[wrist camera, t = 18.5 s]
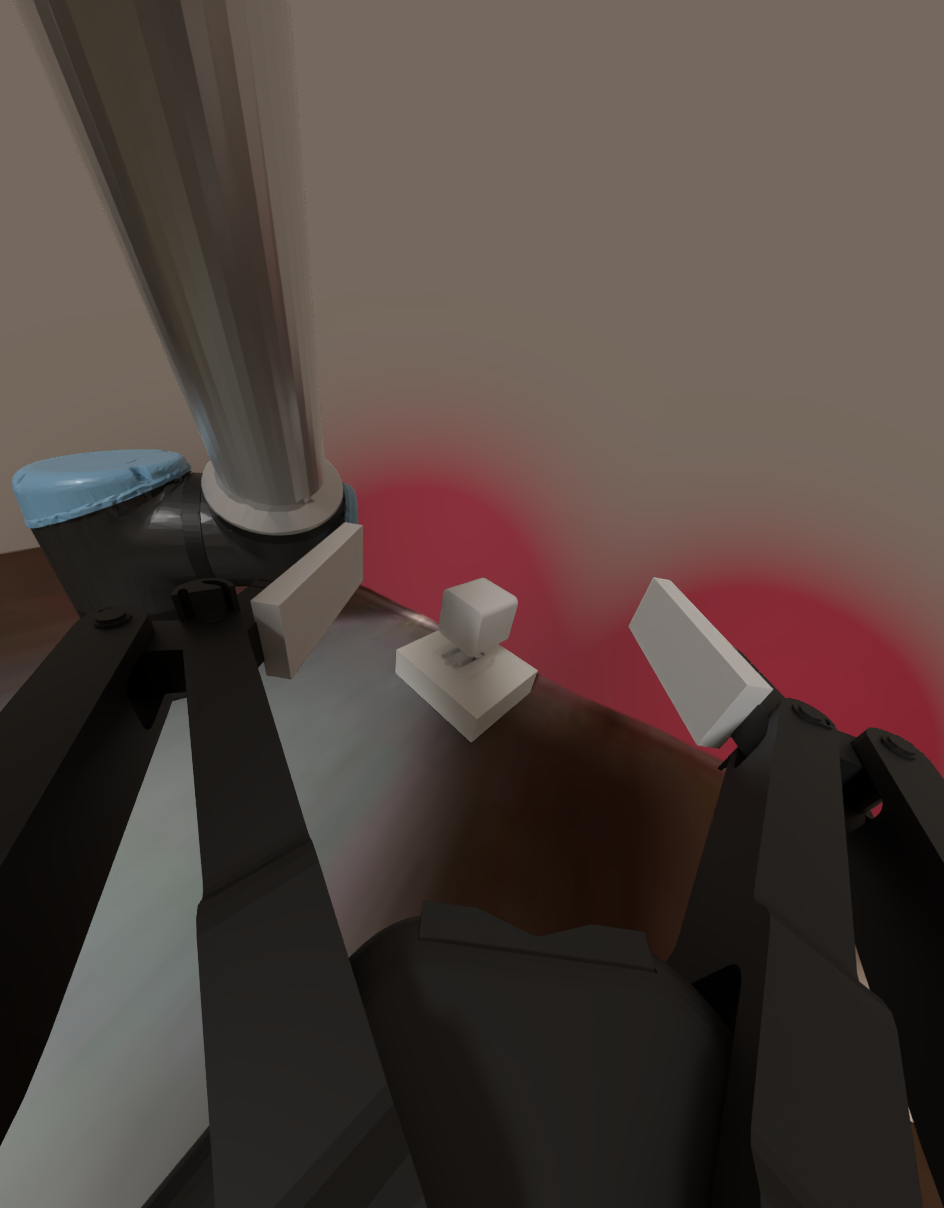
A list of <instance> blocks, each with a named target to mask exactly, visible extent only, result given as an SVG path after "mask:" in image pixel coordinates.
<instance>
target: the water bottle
mask: <svg viewBox="0 0 944 1208" xmlns="http://www.w3.org/2000/svg"><path fill="white" fill-rule="evenodd" d="M855 952H856V964H857V974H858V978H859V982H861V983H862V984H863V985H864V986H866V987H867V988H868V989H869V986H868V983H867V980H866V977H865V974H864V971H863V968H862V965H861V962H860V959H859V955H858V952H857V949H856V946H855ZM869 990H870V989H869ZM908 1108H909V1107H908ZM909 1115H910V1121H912V1122H913V1119H912V1116H911V1113H910V1110H909Z"/></svg>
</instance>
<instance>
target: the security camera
mask: <svg viewBox="0 0 944 1208" xmlns="http://www.w3.org/2000/svg"><path fill="white" fill-rule="evenodd" d="M517 605H518V601H517V599H516V597H515V596H513V595H512V594H510V593H509V592H507V591H505V590H504V589H502V588H500V587H499V586H497V585H495V584H494V583H492V582H490V581H489V580H487V579H486V578H480V579H477V580H473V581H470V582H467V583H464V584H461V585H457V586H454V587H451V588H448V589H445V590H444V592H443V598H442V605H441V613H440V620H439V631H440V633H441V634H442V635H443V636H445V637H446V638H447V639H448V640H449V641H451V643H449V644H446V645H444V646H442V647H440V648H438V649H435V650H434V652H433V660H434V661H435V662H436V663H438V664H439V665H440V666H441V667H442V668H443V669H444V670H445V671H446V672H447V673H449V674H450V675H451V676H452V677H453V678H454V679H455V680H456V681H457V682H458V683H463V682H465V681H467V680H469V679H470V678H472V677H474V676H476V675H477V674H479V673H481V672H483V671H484V670H486V669H488V668H490V667H491V664H492V660H493V659H492V657H490V656H489V655H488V654H486V653H485V652H484V651H485V650H487V649H489V648H491V647H493V646H495V645H497V644H499V643H501V642H502V641H505V640H506V639H508V637H509V634H510V630H511V627H512V623H513V619H514V616H515V612H516V609H517ZM452 664H456V665H457V666H456V667H454V666H453V665H452Z"/></svg>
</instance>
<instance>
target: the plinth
mask: <svg viewBox="0 0 944 1208" xmlns="http://www.w3.org/2000/svg"><path fill="white" fill-rule="evenodd" d="M449 643H451V641H449V640H448V639H447V638H446V637H445V636H443V635H442V634H441V633H440V631H439V630H438V631H436V632H433V633H431V634H429V635H427V636H425V637H423V638H421V639H419V640H416V641H414V642H412V643H410V644H408V645H406V646H404V647H401V648H399V649H397V654H396V672H395V673H396V674H397V675H398V676H399V677H401V678H402V679H403V680H404V681H405V682H406V683H407V684H408V685H409V686H410V687H411V688H412V689H414V690H415V691H416V692H417V693H418V694H419V695H420V696H421V697H422V698H423V699H424V700H425V701H427V702H428V703H429V704H430V705H431V706H432V707H433V708H434V709H435V710H436V711H437V712H438V713H440V714H441V715H442V716H443V717H444V718H445V719H446V720H447V721H448V722H449V723H450V724H451V725H452V726H454V727H455V728H456V729H457V730H458V731H459V732H460V733H461V734H462V735H463V736H464V737H465V738H467V739H468V740H469V741H470V742H473V741H474V740H475V739H476V738H477V737H478V736H480V735H481V734H482V733H483V732H484V731H485V730H487V729H488V728H489V727H490V726H491V725H492V724H494V723H495V722H496V721H497V720H498V719H500V718H501V717H502V716H503V715H504V714H505V713H507V712H508V711H509V710H510V709H511V708H512V707H514V706H515V705H516V704H517V703H518V702H519V701H521V700H522V699H523V698H524V697H525V696H526V695H528V694H529V693H530V691H531V689H532V686H533V683H534V680H535V677H536V674H537V672H538V670H536V669H535V668H533V667H532V666H530V665H528V664H527V663H526V662H524V661H523V660H521V659H520V658H518V657H517V656H515V655H514V654H512V653H511V652H509V651H508V650H507V649H505V648H504V647H502V646H500V645H499V644H497V645H495V646H493V647H491V648H489V649H487V650H485V651H484V652H485V653H486V654H488V655H489V656H490V657H492V659H493V660H492V664H491V667H490V668H488V669H486V670H484V671H483V672H481V673H479V674H477V675H476V676H474V677H472V678H470V679H469V680H467V681H465V682H463V683H458V682H457V681H456V680H455V679H454V678H453V677H452V676H451V675H450V674H449V673H447V672H446V671H445V670H444V669H443V668H442V667H441V666H440V665H439V664H438V663H436V662H435V661H434V660H433V652H434V650H435V649H438V648H440V647H442V646H444V645H446V644H449ZM452 665H453V666H454V667H456V666H457V665H456V664H452Z"/></svg>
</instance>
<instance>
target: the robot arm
mask: <svg viewBox="0 0 944 1208" xmlns="http://www.w3.org/2000/svg"><path fill="white" fill-rule="evenodd" d="M13 1H14V3H15V5H16V8H17V10H18V12H19V15H20V17H21V19H22V22H23V24H24V26H25V28H26V31H27V33H28V36H29V38H30V40H31V42H32V45H33V47H34V50H35V52H36V54H37V57H38V59H39V61H40V63H41V66H42V68H43V70H44V73H45V75H46V77H47V80H48V82H49V85H50V87H51V89H52V92H53V94H54V96H55V99H56V101H57V103H58V105H59V108H60V110H61V113H62V115H63V117H64V120H65V122H66V124H67V127H68V129H69V131H70V134H71V136H72V138H73V140H74V143H75V145H76V147H77V150H78V152H79V154H80V157H81V159H82V161H83V164H84V166H85V168H86V171H87V173H88V175H89V178H90V180H91V182H92V185H93V187H94V189H95V192H96V194H97V196H98V199H99V201H100V203H101V206H102V208H103V210H104V213H105V215H106V217H107V220H108V222H109V224H110V227H111V229H112V231H113V234H114V236H115V238H116V241H117V243H118V245H119V248H120V250H121V252H122V255H123V257H124V259H125V262H126V264H127V266H128V269H129V271H130V273H131V276H132V278H133V280H134V283H135V285H136V287H137V290H138V292H139V294H140V297H141V299H142V301H143V303H144V306H145V308H146V311H147V313H148V315H149V318H150V320H151V322H152V325H153V326H154V329H155V331H156V334H157V336H158V339H159V341H160V343H161V346H162V348H163V350H164V353H165V355H166V357H167V360H168V362H169V364H170V366H171V369H172V371H173V374H174V376H175V378H176V380H177V383H178V385H179V387H180V390H181V392H182V394H183V397H184V399H185V401H186V404H187V406H188V409H189V411H190V413H191V415H192V418H193V420H194V422H195V425H196V427H197V429H198V432H199V434H200V436H201V439H202V441H203V443H204V446H205V448H206V450H207V452H208V455H209V457H210V461H209V462H208V464H207V465H206V466H205V469H204V471H203V473H195V472H192V471H190V470H191V465H190V463H188V462H187V460H186V458H185V457H184V456H183V455H181V454H179V453H176V452H168V451H164V450H147V449H145V450H143V449H142V450H114V451H99V452H88V453H81V454H73V455H66V456H59V457H54V458H49V459H45V460H41V461H37V462H34V463H31V464H29V465H26V466H24V467H23V468H21V469H19V470H18V471H17V472H16V473H15V474H14V476H13V478H12V488H13V491H14V494H15V496H16V498H17V501H18V503H19V506H20V508H21V510H22V513H23V516H24V518H25V525H26V527H27V528H30V529H31V531H32V532H33V534H34V536H35V538H36V540H37V541H38V543H39V545H40V547H41V548H42V550H43V552H44V554H45V556H46V557H47V559H48V561H49V563H50V565H51V566H52V568H53V570H54V572H55V574H56V575H57V577H58V579H59V581H60V582H61V584H62V586H63V588H64V590H65V591H66V593H67V595H68V597H69V599H70V600H71V602H72V604H73V606H74V607H75V609H76V611H77V613H78V615H79V617H80V619H79V620H78V621H77V622H76V623H75V624H74V625H73V626H72V628H71V629H70V630H69V631H68V632H67V633H66V635H65V636H64V637H63V638H62V639H61V641H60V642H59V643H58V644H57V645H56V647H55V648H54V649H53V650H52V651H51V652H50V654H49V655H48V656H47V657H46V658H45V660H44V661H43V662H42V663H41V664H40V666H39V667H38V668H37V669H36V670H35V671H34V673H33V674H32V675H31V676H30V677H29V679H28V680H27V681H26V682H25V683H24V685H23V686H22V687H21V688H20V689H19V690H18V692H17V693H16V694H15V695H14V696H13V698H12V699H11V700H10V701H9V702H8V704H7V705H6V706H5V707H4V708H3V709H2V711H1V712H0V1146H1V1144H2V1142H3V1140H4V1138H5V1135H6V1133H7V1131H8V1129H9V1127H10V1125H11V1123H12V1121H13V1119H14V1117H15V1115H16V1113H17V1111H18V1109H19V1107H20V1105H21V1103H22V1101H23V1099H24V1097H25V1094H26V1092H27V1089H28V1087H29V1085H30V1082H31V1080H32V1077H33V1075H34V1072H35V1070H36V1068H37V1065H38V1063H39V1060H40V1058H41V1055H42V1053H43V1051H44V1048H45V1046H46V1043H47V1041H48V1038H49V1036H50V1033H51V1030H52V1028H53V1025H54V1022H55V1019H56V1017H57V1014H58V1011H59V1008H60V1006H61V1003H62V1000H63V998H64V995H65V992H66V989H67V987H68V984H69V981H70V979H71V976H72V973H73V970H74V968H75V965H76V962H77V959H78V957H79V954H80V951H81V949H82V946H83V943H84V940H85V938H86V935H87V932H88V930H89V927H90V924H91V921H92V919H93V916H94V913H95V910H96V908H97V905H98V902H99V900H100V897H101V894H102V891H103V889H104V886H105V883H106V881H107V878H108V875H109V872H110V870H111V867H112V864H113V861H114V859H115V856H116V853H117V851H118V848H119V845H120V842H121V840H122V837H123V834H124V831H125V829H126V826H127V823H128V821H129V818H130V815H131V812H132V810H133V807H134V804H135V802H136V799H137V796H138V793H139V791H140V788H141V785H142V782H143V780H144V777H145V774H146V772H147V769H148V766H149V763H150V761H151V758H152V755H153V753H154V750H155V747H156V744H157V742H158V739H159V736H160V733H161V731H162V728H163V725H164V723H165V720H166V717H167V714H168V712H169V709H170V706H171V703H172V701H173V700H175V699H179V698H183V697H186V696H187V704H188V715H189V727H190V739H191V750H192V762H193V774H194V785H195V797H196V808H197V820H198V832H199V843H200V855H201V866H202V878H203V898H202V900H201V901H200V903H199V905H198V908H197V917H196V927H197V948H198V963H199V978H200V992H201V1007H202V1022H203V1036H204V1051H205V1066H206V1080H207V1095H208V1110H209V1124H210V1125H209V1126H208V1128H207V1129H206V1130H205V1131H204V1132H203V1134H202V1135H201V1136H200V1137H199V1138H198V1140H197V1141H196V1142H195V1143H194V1145H193V1146H192V1147H191V1148H190V1149H189V1151H188V1152H187V1153H186V1154H185V1155H184V1157H183V1158H182V1159H181V1160H180V1161H179V1163H178V1164H177V1165H176V1166H175V1167H174V1169H173V1170H172V1171H171V1172H170V1173H169V1175H168V1176H167V1177H166V1178H165V1179H164V1181H163V1182H162V1183H161V1184H160V1185H159V1187H158V1188H157V1189H156V1190H155V1191H154V1193H153V1194H152V1195H151V1196H150V1197H149V1199H148V1200H147V1201H146V1202H145V1204H144V1205H143V1206H142V1207H141V1208H923V1205H922V1198H921V1191H920V1184H919V1177H918V1170H917V1163H916V1156H915V1149H914V1142H913V1135H912V1129H911V1122H910V1115H909V1110H910V1113H911V1116H912V1119H913V1122H914V1125H915V1128H916V1131H917V1135H918V1138H919V1141H920V1144H921V1147H922V1149H923V1152H924V1155H925V1158H926V1160H927V1163H928V1166H929V1169H930V1171H931V1174H932V1177H933V1180H934V1182H935V1185H936V1188H937V1191H938V1193H939V1196H940V1199H941V1201H942V1204H943V1207H944V779H943V778H942V776H941V775H940V774H939V772H938V771H937V770H936V768H935V767H934V766H933V764H932V763H931V761H930V760H929V759H927V757H926V756H925V755H924V754H923V753H922V752H920V751H919V750H918V749H916V748H915V747H914V745H913V744H911V743H910V742H908V741H905V740H904V739H903V738H901V737H900V736H897V735H894V734H892V733H889V732H887V731H884V730H881V729H878V728H868V729H867V730H865V731H864V732H863V733H862V734H860V735H859V736H858V737H854V736H851V735H849V734H846V733H843V732H840V731H838V730H837V729H836V727H835V725H834V724H833V723H832V721H831V720H830V719H829V718H828V717H826V716H825V715H824V714H823V713H821V712H820V711H819V710H817V709H815V708H814V707H812V706H810V705H808V704H806V703H804V702H801V701H799V700H796V699H792V698H785V697H784V696H783V695H782V694H781V693H780V692H779V691H778V690H777V689H776V688H775V687H774V686H773V685H772V684H771V683H770V682H769V681H768V680H767V679H766V677H764V676H763V674H762V673H760V672H759V670H758V669H757V668H756V667H755V666H754V665H753V664H751V662H750V661H749V660H748V659H747V658H746V657H745V656H744V655H743V653H742V652H740V651H739V650H737V649H736V648H735V647H733V646H732V645H731V644H730V643H729V642H728V641H727V640H726V639H725V638H724V637H723V636H722V635H721V634H720V633H719V631H718V630H717V629H716V628H715V627H714V626H713V625H712V624H711V623H710V622H709V621H708V620H707V619H706V618H705V617H704V616H703V615H702V614H701V612H700V611H698V609H697V608H696V607H695V606H694V605H693V604H692V603H691V602H690V601H689V600H688V599H687V598H686V597H685V596H684V594H683V593H682V592H681V591H680V590H679V589H678V588H677V587H676V586H675V585H674V584H673V583H672V582H671V581H670V580H666V579H660V578H655V577H654V578H653V579H652V581H651V583H650V585H649V587H648V589H647V592H646V593H645V595H644V597H643V599H642V601H641V603H640V605H639V607H638V609H637V611H636V613H635V615H634V617H633V619H632V621H631V623H630V625H629V628H630V630H631V631H632V633H633V634H634V637H635V638H636V640H637V642H638V644H639V645H640V647H641V649H642V651H643V652H644V654H645V656H646V657H647V659H648V661H649V663H650V664H651V666H652V668H653V670H654V671H655V673H656V675H657V677H658V678H659V680H660V682H661V683H662V685H663V687H664V689H665V690H666V692H667V694H668V696H669V697H670V699H671V701H672V703H673V704H674V706H675V708H676V710H677V711H678V713H679V715H680V716H681V718H682V720H683V722H684V723H685V725H686V727H687V729H688V730H689V732H690V734H691V736H692V737H693V739H694V741H695V742H696V744H697V745H700V746H706V747H712V748H718V749H720V748H721V747H722V745H723V744H724V743H725V742H726V741H727V740H728V739H729V738H730V737H732V739H733V740H734V741H735V743H736V744H737V746H738V747H737V748H736V749H735V750H734V751H733V752H732V753H731V754H730V755H729V756H728V758H727V759H726V760H725V761H724V762H723V763H722V764H721V765H720V766H719V767H718V769H719V770H721V771H722V770H723V769H724V768H727V769H726V773H725V776H724V780H723V783H722V787H721V790H720V794H719V797H718V801H717V804H716V808H715V811H714V815H713V818H712V822H711V825H710V829H709V832H708V836H707V839H706V843H705V846H704V850H703V853H702V857H701V860H700V864H699V867H698V871H697V874H696V878H695V881H694V885H693V888H692V892H691V895H690V899H689V902H688V906H687V909H686V913H685V916H684V920H683V924H682V927H681V931H680V934H679V938H678V941H677V944H676V946H675V948H674V950H673V952H672V954H671V955H670V957H669V958H668V960H667V961H666V962H664V961H663V960H661V959H660V958H658V957H657V956H655V955H654V954H652V953H650V950H649V946H648V943H647V939H646V936H645V932H643V931H636V930H628V929H621V928H614V927H607V926H600V925H593V924H590V925H586V926H582V927H578V928H574V929H570V930H565V931H561V932H557V933H553V934H549V935H545V936H534V935H531V934H529V933H527V932H525V931H523V930H521V929H519V928H517V927H515V926H513V925H511V924H509V923H507V922H505V921H503V920H501V919H499V918H497V917H495V916H493V915H491V914H489V913H487V912H485V911H483V910H481V909H479V908H473V907H466V906H459V905H452V904H445V903H438V902H431V901H424V902H423V906H422V911H421V915H420V916H416V917H411V918H407V919H404V920H402V921H399V922H397V923H394V924H392V925H390V926H388V927H387V928H385V929H383V930H381V931H380V932H378V933H377V934H375V935H374V936H373V937H372V938H370V939H369V940H368V941H366V942H365V943H364V944H363V945H362V946H361V947H360V948H359V949H357V950H356V951H355V952H354V953H353V954H352V955H351V956H350V957H349V958H348V954H347V951H346V948H345V945H344V941H343V938H342V935H341V932H340V928H339V925H338V922H337V919H336V916H335V912H334V909H333V906H332V903H331V899H330V896H329V893H328V890H327V886H326V883H325V880H324V877H323V873H322V870H321V867H320V864H319V860H318V857H317V854H316V851H315V848H314V845H313V842H312V840H311V838H310V836H309V834H308V831H307V827H306V824H305V821H304V818H303V814H302V811H301V808H300V805H299V801H298V798H297V795H296V791H295V788H294V785H293V782H292V778H291V775H290V772H289V768H288V765H287V762H286V759H285V755H284V752H283V749H282V745H281V742H280V739H279V735H278V732H277V729H276V726H275V722H274V719H273V716H272V712H271V709H270V706H269V703H268V699H267V696H266V693H265V689H264V686H263V683H262V680H261V676H260V673H259V670H258V667H259V666H260V665H261V664H262V663H263V662H264V665H265V670H266V674H267V676H274V677H280V678H286V679H292V678H293V677H294V675H295V674H296V672H297V671H298V670H299V668H300V667H301V666H302V664H303V663H304V661H305V660H306V659H307V657H308V656H309V654H310V653H311V652H312V650H313V649H314V648H315V646H316V645H317V643H318V642H319V641H320V639H321V638H322V637H323V635H324V634H325V632H326V631H327V630H328V628H329V627H330V625H331V624H332V623H333V621H334V620H335V619H336V617H337V616H338V614H339V613H340V612H341V610H342V609H343V608H344V606H345V605H346V603H347V602H348V601H349V599H350V598H351V597H352V595H353V594H354V592H355V591H356V590H357V588H358V587H359V585H360V584H361V583H362V581H363V526H362V525H358V507H357V499H356V493H355V491H354V489H353V488H352V487H351V486H350V485H347V484H344V483H343V482H342V481H341V478H340V476H339V474H338V472H337V470H336V469H335V467H334V466H333V465H332V464H331V463H330V462H329V461H328V460H327V459H326V458H325V457H324V447H323V433H322V420H321V406H320V393H319V380H318V367H317V354H316V341H315V329H314V314H313V301H312V288H311V275H310V261H309V248H308V234H307V221H306V208H305V194H304V181H303V167H302V155H301V141H300V127H299V114H298V100H297V87H296V74H295V61H294V47H293V33H292V21H291V6H290V0H13ZM241 586H248V587H247V588H246V589H244V590H243V591H242V592H240V593H239V594H238V595H237V594H236V590H235V587H241ZM882 802H883V805H882V810H881V812H880V813H879V814H878V815H877V816H876V817H875V818H874V816H873V814H872V812H871V809H873V808H875V807H876V806H877V805H879V804H881V803H882ZM855 946H856V949H857V952H858V955H859V959H860V962H861V965H862V968H863V971H864V974H865V977H866V980H867V983H868V986H869V989H870V990H869V989H868V988H867V987H866V986H864V985H863V984H862V983H861V982H859V978H858V974H857V964H856V952H855ZM908 1107H909V1108H908Z"/></svg>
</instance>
